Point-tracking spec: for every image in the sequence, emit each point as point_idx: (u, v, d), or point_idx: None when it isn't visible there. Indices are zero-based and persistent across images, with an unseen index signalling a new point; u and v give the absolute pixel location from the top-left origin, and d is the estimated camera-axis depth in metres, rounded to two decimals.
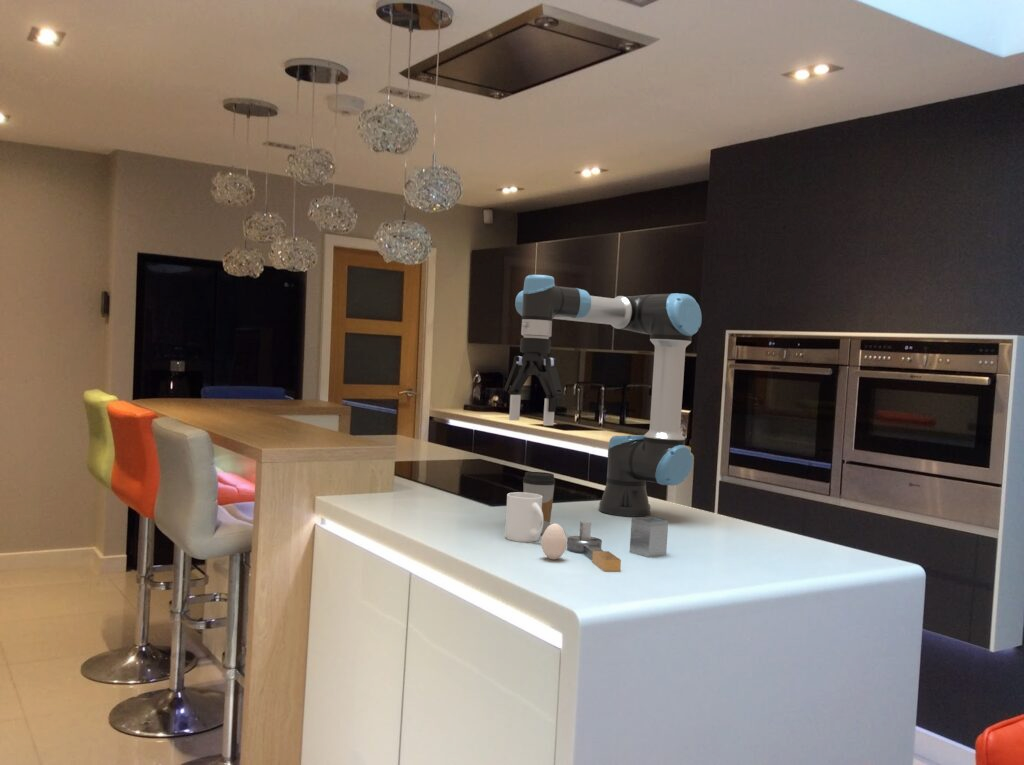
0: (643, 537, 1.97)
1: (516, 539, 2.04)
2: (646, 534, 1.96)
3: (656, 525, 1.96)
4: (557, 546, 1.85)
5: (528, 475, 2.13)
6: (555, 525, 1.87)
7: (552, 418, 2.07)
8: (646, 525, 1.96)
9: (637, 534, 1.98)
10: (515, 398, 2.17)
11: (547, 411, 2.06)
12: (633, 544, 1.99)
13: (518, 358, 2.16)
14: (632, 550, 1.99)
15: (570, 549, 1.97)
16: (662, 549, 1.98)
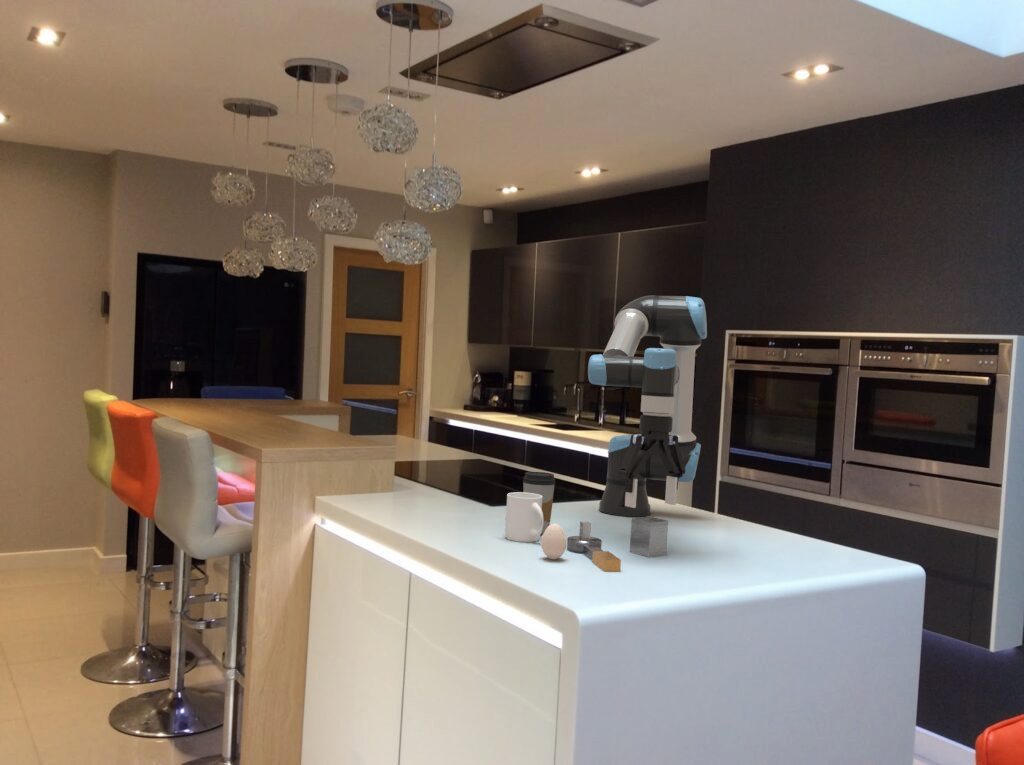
0: (643, 537, 1.97)
1: (516, 539, 2.04)
2: (646, 534, 1.96)
3: (656, 525, 1.96)
4: (557, 546, 1.85)
5: (528, 475, 2.13)
6: (555, 525, 1.87)
7: (632, 499, 1.94)
8: (646, 525, 1.96)
9: (637, 534, 1.98)
10: (669, 480, 2.03)
11: None
12: (633, 544, 1.99)
13: None
14: (632, 550, 1.99)
15: (570, 549, 1.97)
16: (662, 549, 1.98)
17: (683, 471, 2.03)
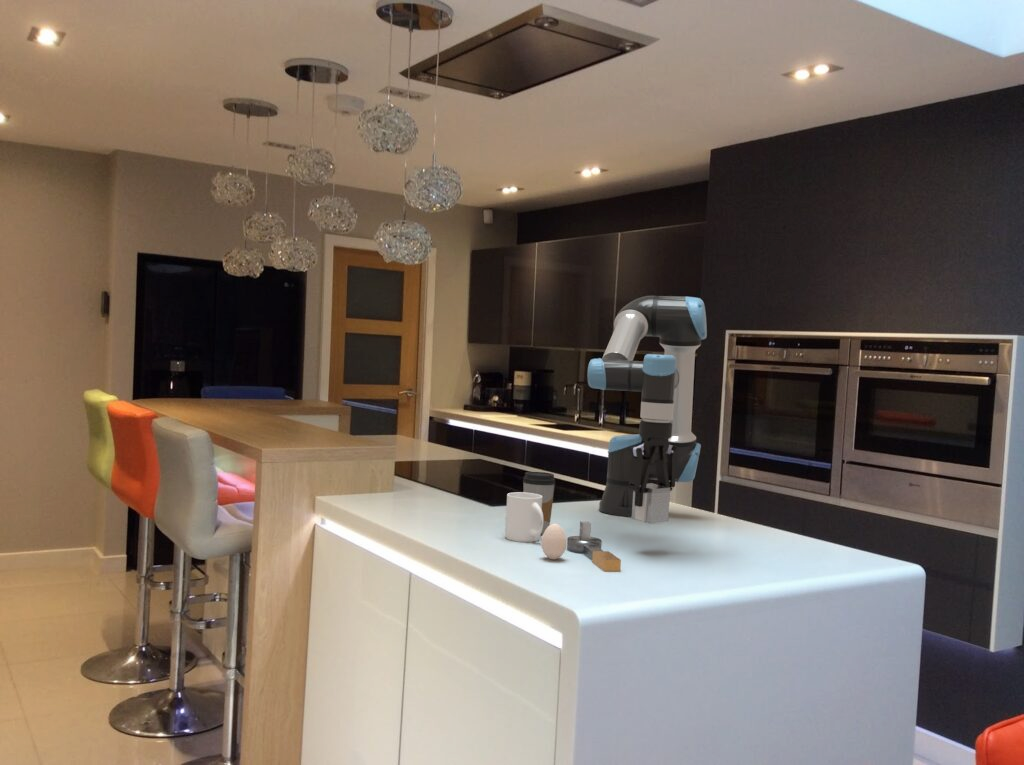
0: None
1: (516, 539, 2.04)
2: (648, 501, 1.96)
3: (658, 491, 1.96)
4: (557, 546, 1.85)
5: (528, 475, 2.13)
6: (555, 525, 1.87)
7: (642, 513, 1.97)
8: (648, 491, 1.96)
9: None
10: None
11: None
12: None
13: None
14: (634, 517, 2.00)
15: (570, 549, 1.97)
16: (664, 515, 1.98)
17: (673, 484, 2.02)
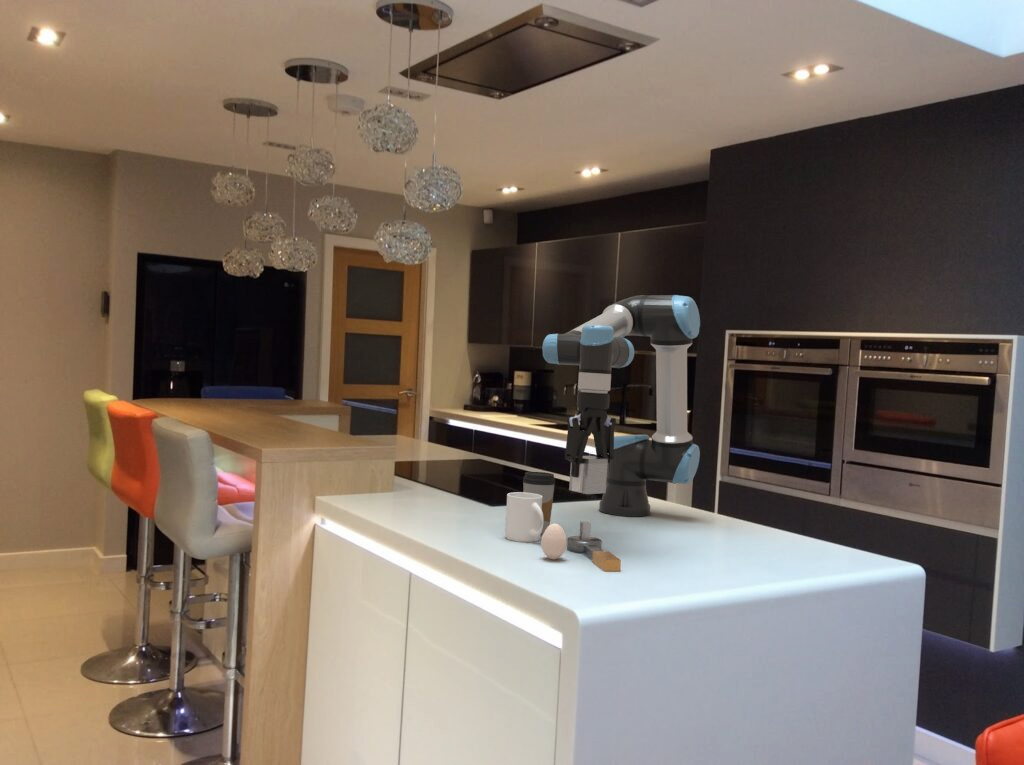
0: None
1: (516, 539, 2.04)
2: (585, 471, 1.95)
3: (595, 462, 1.95)
4: (557, 546, 1.85)
5: (528, 475, 2.13)
6: (555, 525, 1.87)
7: (578, 484, 1.96)
8: (585, 462, 1.95)
9: None
10: None
11: None
12: None
13: None
14: (571, 488, 1.98)
15: (570, 549, 1.97)
16: (601, 487, 1.97)
17: (611, 456, 2.01)
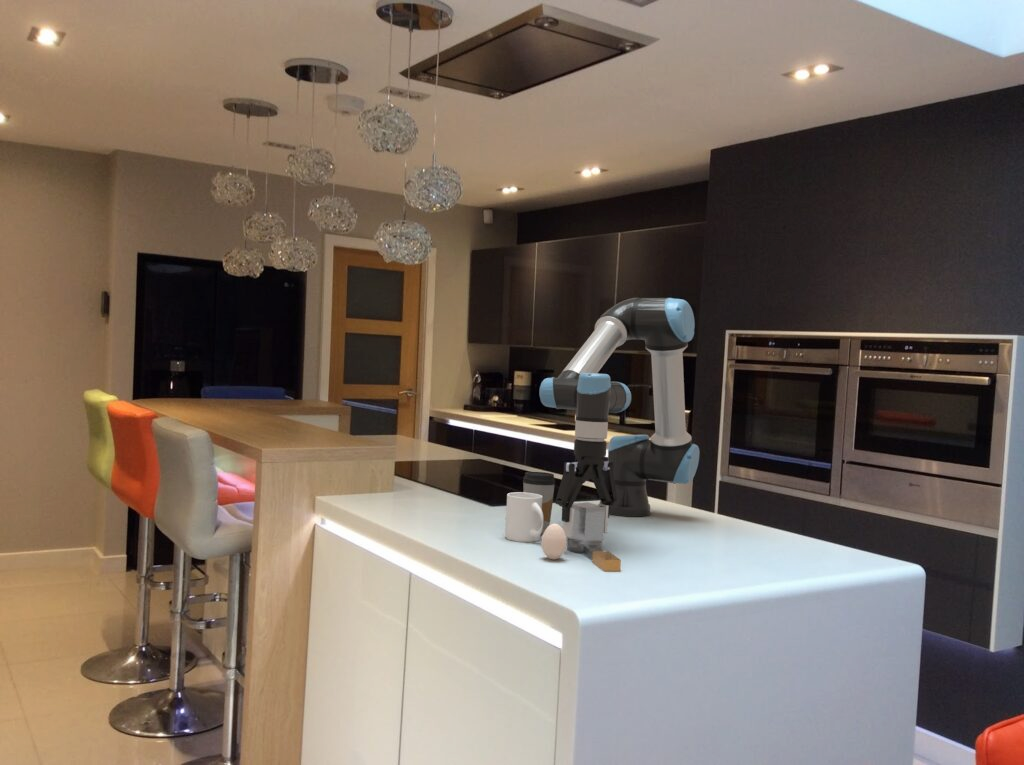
0: (579, 522, 1.96)
1: (516, 539, 2.04)
2: (582, 520, 1.96)
3: (592, 511, 1.96)
4: (557, 546, 1.85)
5: (528, 475, 2.13)
6: (555, 525, 1.87)
7: (569, 529, 1.95)
8: (582, 511, 1.96)
9: (574, 520, 1.98)
10: None
11: None
12: None
13: None
14: None
15: (570, 549, 1.97)
16: (599, 535, 1.98)
17: (615, 499, 2.03)
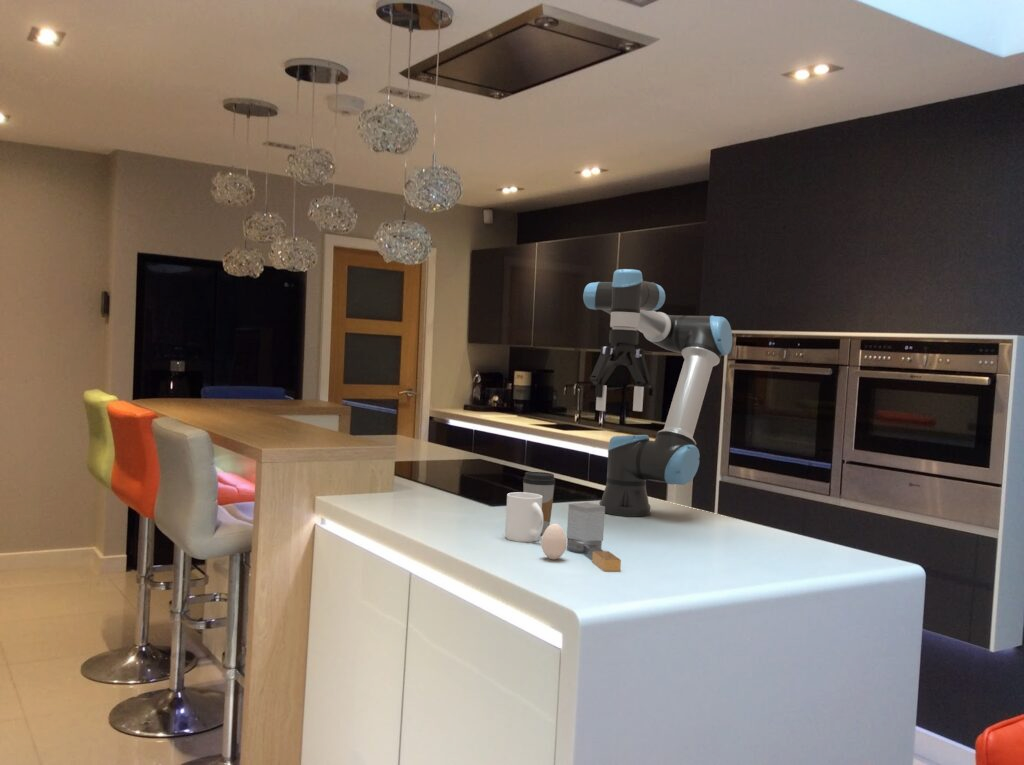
0: (579, 522, 1.96)
1: (516, 539, 2.04)
2: (582, 520, 1.96)
3: (592, 511, 1.96)
4: (557, 546, 1.85)
5: (528, 475, 2.13)
6: (555, 525, 1.87)
7: (602, 404, 2.17)
8: (582, 511, 1.96)
9: (574, 520, 1.98)
10: (637, 389, 2.26)
11: (597, 397, 2.18)
12: (570, 530, 1.99)
13: None
14: (569, 536, 1.99)
15: (570, 549, 1.97)
16: (599, 535, 1.98)
17: (649, 382, 2.27)
